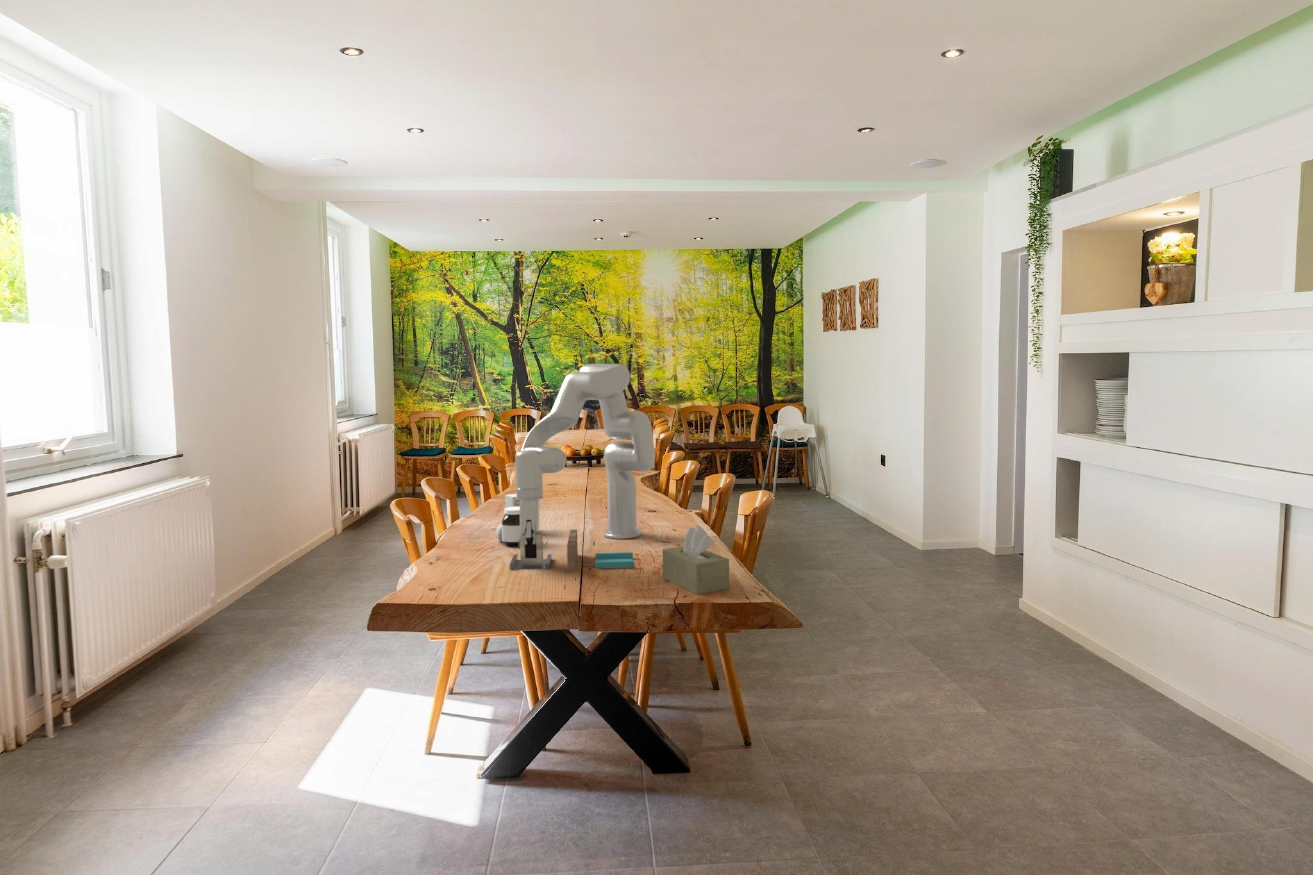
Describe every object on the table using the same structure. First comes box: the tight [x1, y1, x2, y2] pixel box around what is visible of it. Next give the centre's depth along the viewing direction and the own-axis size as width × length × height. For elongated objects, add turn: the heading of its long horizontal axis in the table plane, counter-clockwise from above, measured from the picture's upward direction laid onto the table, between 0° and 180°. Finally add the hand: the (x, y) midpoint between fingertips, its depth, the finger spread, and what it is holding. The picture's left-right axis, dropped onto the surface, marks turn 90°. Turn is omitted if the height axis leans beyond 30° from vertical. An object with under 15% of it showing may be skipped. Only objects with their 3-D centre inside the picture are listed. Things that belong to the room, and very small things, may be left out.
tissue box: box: [662, 524, 730, 595], centre depth 214 cm, size 19×10×16 cm, turn 28°
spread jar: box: [494, 507, 525, 547], centre depth 263 cm, size 12×11×12 cm
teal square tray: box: [594, 551, 635, 569], centre depth 237 cm, size 11×11×2 cm
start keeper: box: [509, 553, 552, 571], centre depth 235 cm, size 11×11×2 cm
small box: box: [504, 493, 520, 509], centre depth 280 cm, size 8×6×13 cm
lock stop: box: [517, 530, 544, 563], centre depth 235 cm, size 4×7×8 cm
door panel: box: [566, 529, 579, 573], centre depth 236 cm, size 20×2×8 cm, turn 3°
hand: (531, 554), depth 235 cm, fingers closed on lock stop, 4 cm apart
